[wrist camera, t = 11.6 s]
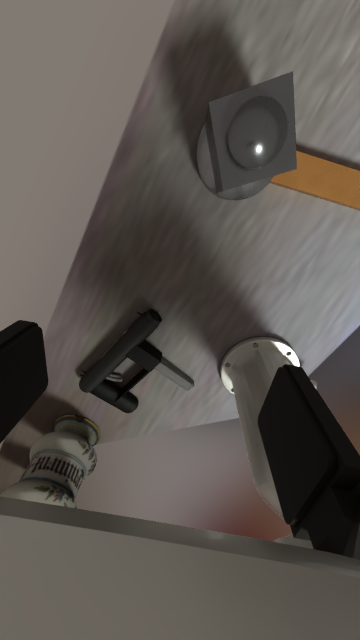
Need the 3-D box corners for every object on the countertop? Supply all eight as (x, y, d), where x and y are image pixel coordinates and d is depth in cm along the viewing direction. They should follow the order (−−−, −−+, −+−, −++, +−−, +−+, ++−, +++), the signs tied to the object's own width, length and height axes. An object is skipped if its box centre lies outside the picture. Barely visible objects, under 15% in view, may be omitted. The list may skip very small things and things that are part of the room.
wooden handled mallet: (408, 155, 26) (450, 146, 21) (359, 239, 30) (386, 245, 25) (210, 90, 24) (214, 66, 20) (187, 187, 28) (186, 185, 24)
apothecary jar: (108, 417, 47) (64, 530, 31) (103, 454, 52) (63, 566, 36) (47, 405, 46) (-31, 514, 30) (48, 443, 51) (-17, 553, 35)
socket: (267, 104, 23) (298, 64, 16) (273, 176, 25) (301, 167, 19) (204, 126, 24) (209, 97, 17) (216, 193, 26) (224, 190, 20)
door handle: (219, 369, 38) (139, 308, 32) (142, 429, 45) (67, 387, 40) (217, 356, 40) (143, 298, 35) (145, 414, 48) (75, 373, 43)
